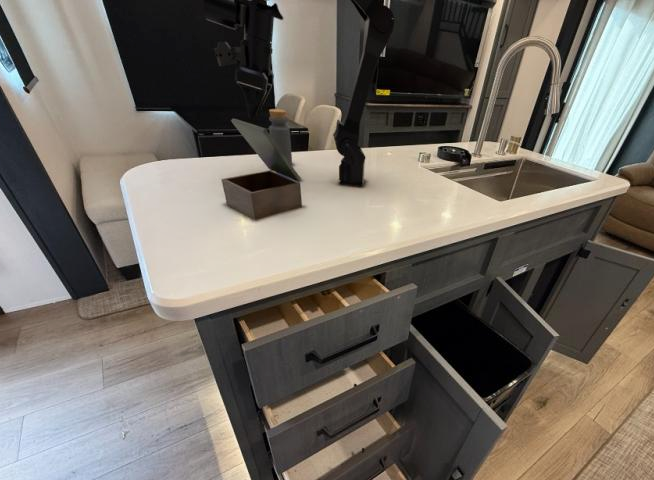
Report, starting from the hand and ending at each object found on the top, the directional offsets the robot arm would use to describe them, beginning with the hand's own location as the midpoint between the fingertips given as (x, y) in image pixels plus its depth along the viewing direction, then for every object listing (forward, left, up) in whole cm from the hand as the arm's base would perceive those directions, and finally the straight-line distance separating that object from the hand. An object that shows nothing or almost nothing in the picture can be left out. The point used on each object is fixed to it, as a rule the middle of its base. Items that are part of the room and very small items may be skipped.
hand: (254, 116), depth 79 cm
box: (-7, +17, -16) cm, 24 cm away
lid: (-8, +16, -4) cm, 18 cm away
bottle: (0, -16, -16) cm, 23 cm away
